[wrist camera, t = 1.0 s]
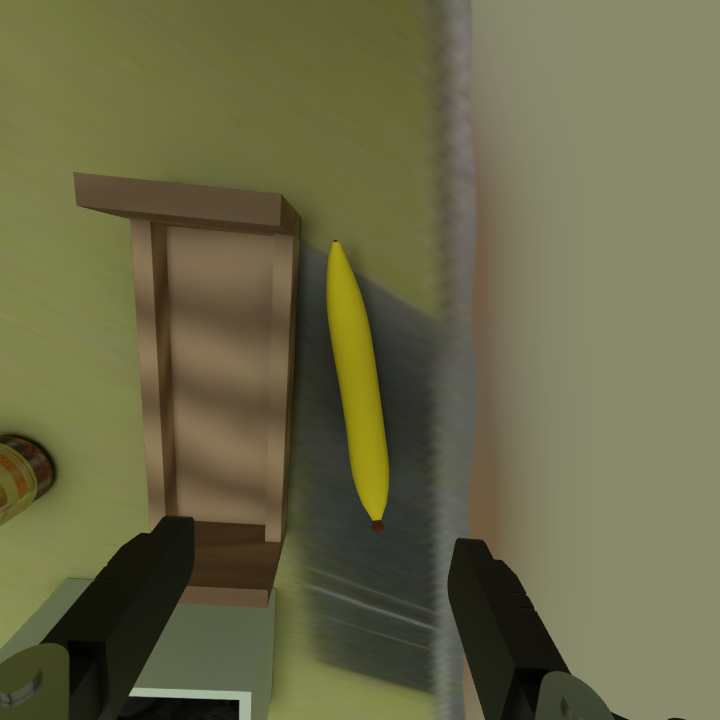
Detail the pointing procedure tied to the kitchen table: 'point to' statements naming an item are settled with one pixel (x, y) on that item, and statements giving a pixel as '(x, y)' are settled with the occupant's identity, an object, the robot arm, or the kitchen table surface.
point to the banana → (357, 385)
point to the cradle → (214, 368)
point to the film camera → (178, 709)
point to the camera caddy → (187, 650)
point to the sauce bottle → (21, 476)
